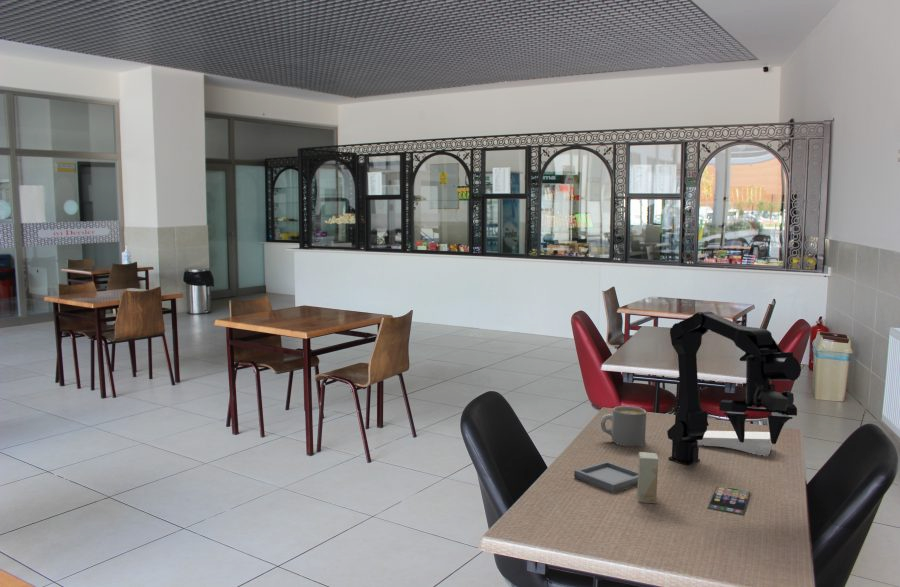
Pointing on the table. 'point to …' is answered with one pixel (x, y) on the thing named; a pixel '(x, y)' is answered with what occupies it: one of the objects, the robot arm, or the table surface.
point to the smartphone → (729, 500)
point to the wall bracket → (752, 441)
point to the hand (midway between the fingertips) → (757, 443)
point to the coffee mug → (626, 425)
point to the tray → (608, 476)
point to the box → (647, 477)
